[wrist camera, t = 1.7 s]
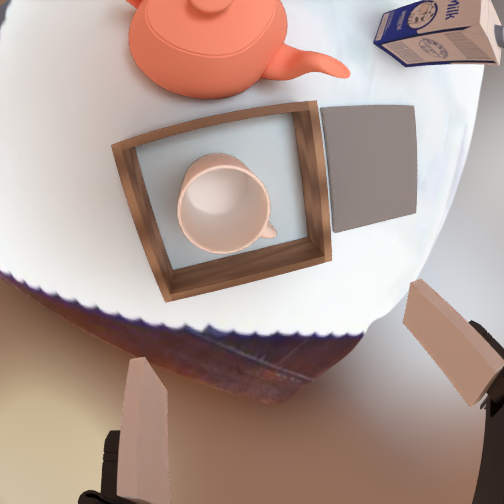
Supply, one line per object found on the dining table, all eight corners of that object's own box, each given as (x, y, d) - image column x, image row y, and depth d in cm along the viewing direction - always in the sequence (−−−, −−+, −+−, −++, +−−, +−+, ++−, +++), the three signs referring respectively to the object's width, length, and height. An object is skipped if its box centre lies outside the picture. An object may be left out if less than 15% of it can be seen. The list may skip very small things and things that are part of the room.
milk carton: (383, 12, 26) (482, -15, 8) (415, 37, 28) (514, 27, 11) (372, 44, 29) (481, 23, 11) (405, 68, 31) (512, 67, 13)
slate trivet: (320, 107, 32) (323, 107, 32) (410, 105, 34) (413, 105, 33) (333, 231, 41) (335, 233, 40) (413, 211, 42) (416, 213, 41)
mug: (245, 241, 39) (261, 283, 30) (170, 195, 34) (159, 225, 25) (283, 191, 37) (313, 218, 27) (208, 138, 32) (212, 146, 23)
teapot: (328, 44, 28) (387, 20, 17) (265, 141, 33) (303, 155, 22) (166, -36, 19) (157, -90, 7) (94, 62, 24) (44, 39, 13)
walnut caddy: (125, 140, 30) (111, 145, 25) (298, 102, 32) (316, 100, 26) (168, 277, 39) (165, 302, 34) (315, 241, 41) (332, 260, 36)
